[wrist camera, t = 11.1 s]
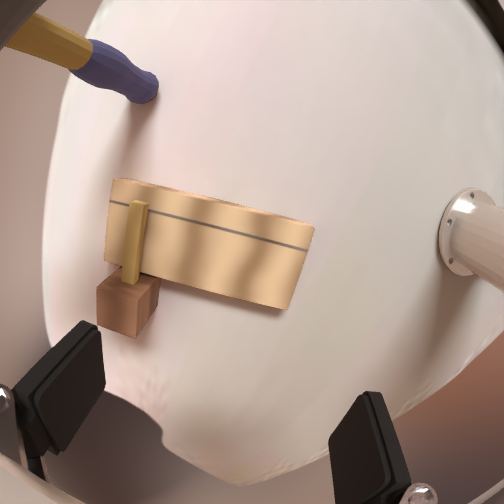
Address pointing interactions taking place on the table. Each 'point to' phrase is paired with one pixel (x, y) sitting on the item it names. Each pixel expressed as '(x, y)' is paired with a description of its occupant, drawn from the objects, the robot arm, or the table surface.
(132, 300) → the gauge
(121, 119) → the table surface
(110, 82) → the rubber mallet
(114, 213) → the board
